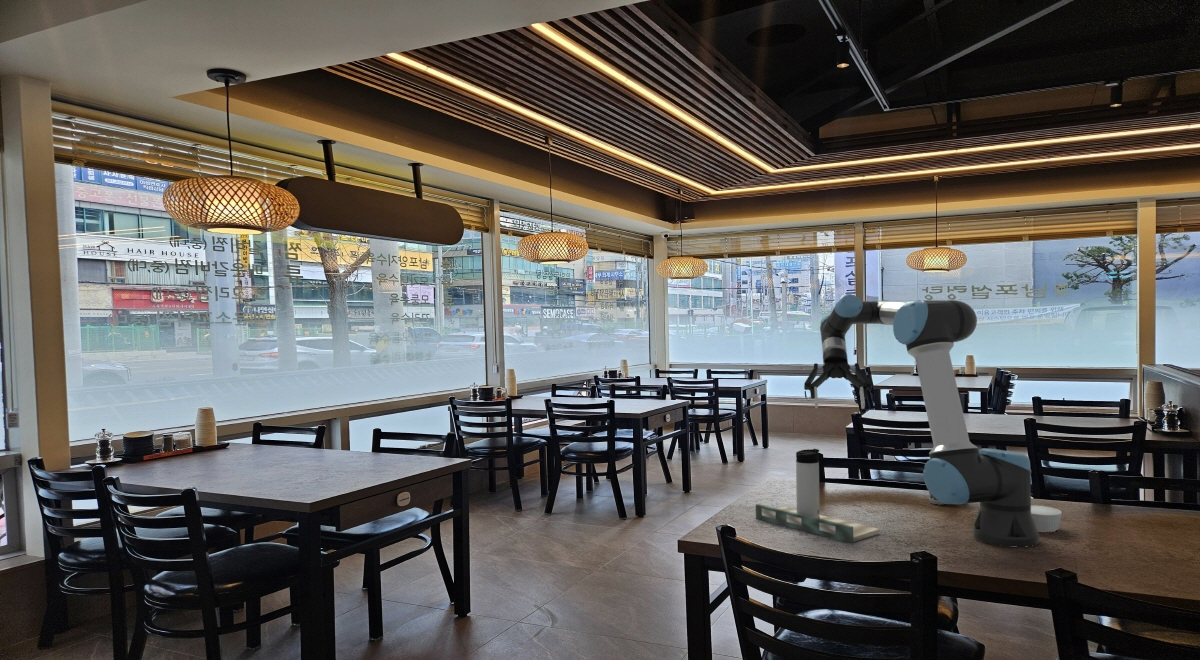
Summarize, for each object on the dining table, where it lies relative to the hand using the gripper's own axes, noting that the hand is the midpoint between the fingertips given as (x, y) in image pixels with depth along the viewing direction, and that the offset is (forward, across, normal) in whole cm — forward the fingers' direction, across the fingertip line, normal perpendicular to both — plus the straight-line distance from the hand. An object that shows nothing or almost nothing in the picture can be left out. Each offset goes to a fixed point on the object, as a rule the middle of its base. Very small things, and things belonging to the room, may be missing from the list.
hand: (839, 406), depth 224 cm
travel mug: (+34, +10, -9) cm, 37 cm away
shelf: (+36, +9, -9) cm, 38 cm away
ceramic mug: (+12, -32, -33) cm, 48 cm away
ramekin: (+31, -50, -14) cm, 61 cm away
